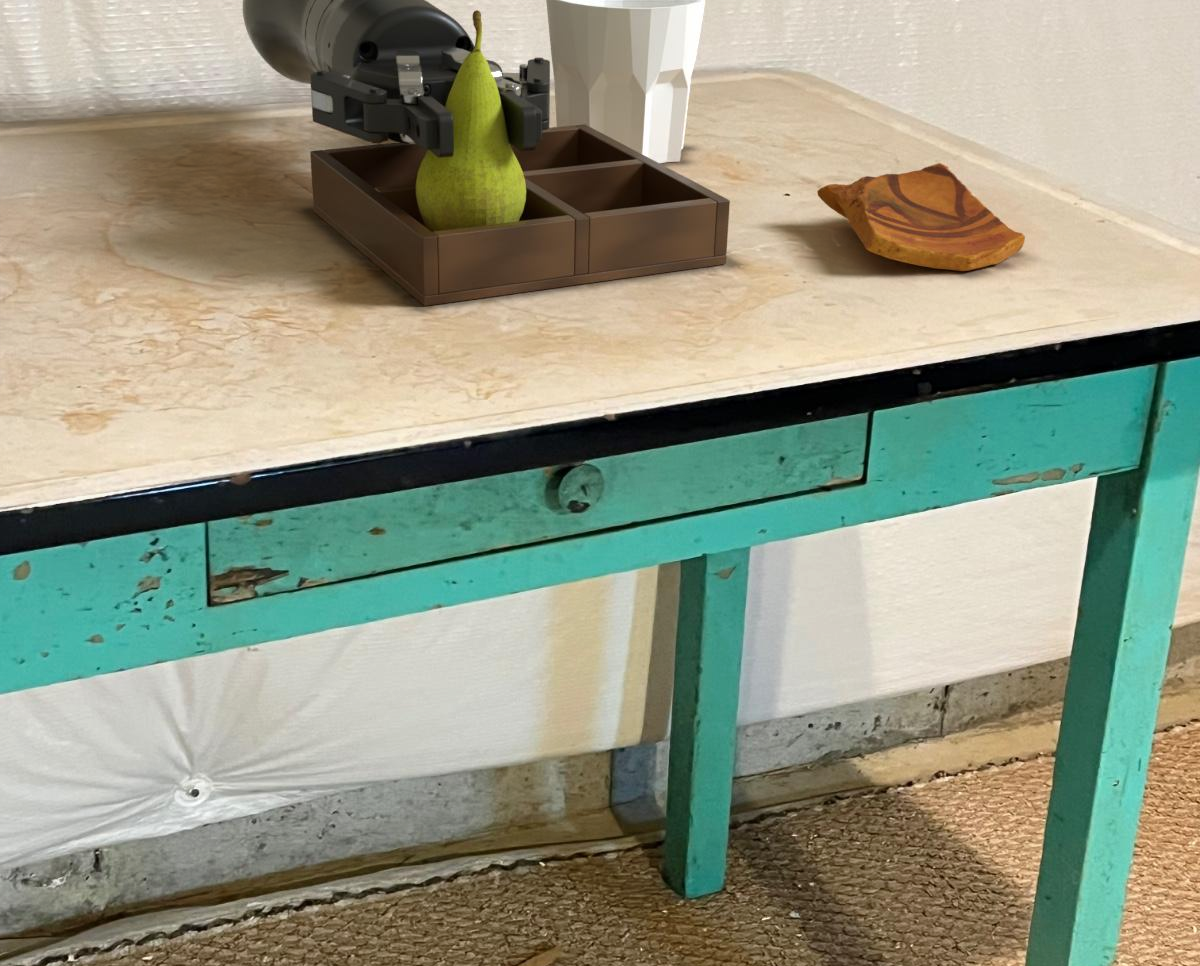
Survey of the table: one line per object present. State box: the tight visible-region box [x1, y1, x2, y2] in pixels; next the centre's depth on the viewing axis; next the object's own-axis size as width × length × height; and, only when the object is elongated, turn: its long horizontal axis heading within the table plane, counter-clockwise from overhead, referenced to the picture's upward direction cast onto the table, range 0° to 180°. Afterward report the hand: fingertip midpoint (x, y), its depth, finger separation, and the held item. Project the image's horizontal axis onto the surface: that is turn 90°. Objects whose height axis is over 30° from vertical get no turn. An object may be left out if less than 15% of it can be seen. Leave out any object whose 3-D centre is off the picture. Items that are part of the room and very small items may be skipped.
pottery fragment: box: [816, 162, 1026, 272], centre depth 94 cm, size 10×5×10 cm
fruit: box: [416, 10, 526, 232], centre depth 86 cm, size 6×6×12 cm
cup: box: [545, 0, 707, 164], centre depth 109 cm, size 10×10×10 cm
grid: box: [309, 124, 731, 307], centre depth 94 cm, size 17×17×4 cm
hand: (488, 133), depth 84 cm, fingers closed on fruit, 3 cm apart
